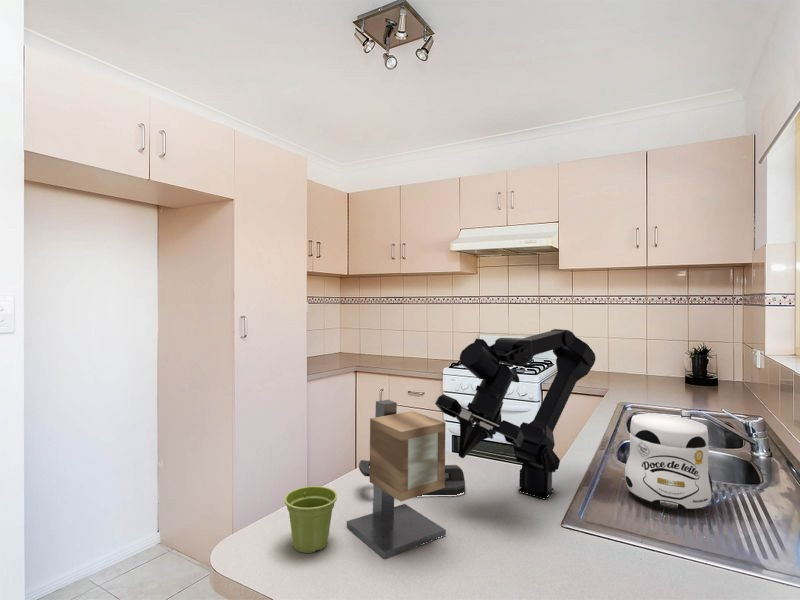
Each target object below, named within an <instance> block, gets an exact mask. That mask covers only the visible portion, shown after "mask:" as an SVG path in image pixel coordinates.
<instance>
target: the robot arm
mask: <svg viewBox="0 0 800 600" xmlns="http://www.w3.org/2000/svg"><path fill="white" fill-rule="evenodd" d="M551 351H552V353H553V355H555V356H556V359H555V363H556V369H557V371H556V374H555V376H554V378H553V380H552V382H551V384H550V387H549V388H548V390H547V392H546V394H545V396H544V397H543V401H542V402H541V405H540V406H539V408H538V410H537V413H536V414H535V417H534V418H533V420H532V421H530V422H529V423H527V422H522V423H520V425H516V424H514V423H512V422H509V421H508V420H505V419H502V414H501V413H502V408H503V405H504V398H505V396H506V394H507V392H508V390H509V389H510V386H511V384H512V382H514V383H520V377H519V375H518V371H517V369H513V368H510V367H509V366H508V365H510V366H515V367H523V366H525V365H527V364H528V363H530V362H531V361H533V358H534V357H535V356H537V355H540V354H543V353H546V352H551ZM596 359H597V358H596V353H595V352H594V351H593V349H592V348H591V347H590V345H588V343H587V342H585V341H583V340H582V339H580V338H579V337H577V336H576V335H575V333H573V332H572V331H570V330H569V329H562V328H561V329H560V328H559V329H558V328H553V329H551V330H548V331H545V332H543V333H537V334H534V335H530V336H526V337H523V338H522V337H499V338H497V339H496V340H495V341H494V343H493V344H491V345H489V344H488V343H487V342H486V341H485V340H484V339H483V338H482V339H481V338H475V340H474V341H473V342H472V343H470V344H469V345H467V346H466V347H464V349H463V350H461V352H460V354H459V362H460V364H461V365H462V366H463V367H464V368H465V369H467V370H468V371H469V372H470V373H471V374H472V375H473V376H475V377H476V378H477V379H479V380H481V381H480V384H479V385H478V384H477V386H476V387H475V391H476V392H475V394H474V397H473V398H472V401H470V402H468V403H467V405H466V407H467V408H465V407H464V406H462V405H461V404H460V403H459V401H458V400H457V399H456V398H454V397H451V396H449V395H445V394H443V393H442V394H441V395H439V396H438V397H437V399H436V401H435V402H434V404H435V406H436V407H437V409H439V411H441V413H443V414H445V415H448V416H449V417H452V418H453V419H454V418H456V420H458V422H459V448H458V457H459V458H461V459H464V458H465V457H466V456H467V455H468V454H469V453H471V451H472V450H473V449H474V448H475V447H476V446H477V445H478V444H480V443H481V442H482V441H484V440H486V439H491V440H493V439H494V435H496V434H497V433H498V434H500V435H502V436H503V437H504V440H505V442H507V443H509V444H511V445H512V446H513V447H512V448H513V452H514V455H515V459H516V460H515V461H516V462H517V463H519V464H521V469H520V470H519V482H518V483H519V484H518V485H519V487H520V488H519V489H518V492H519V491H521V492H524V493H528V494H531V495H535V496H538V497H541V498H540V499H542V498H547V496H548V495H549V494H550V493H551V492H552V491H553V490H554V491H555V488H554V487H552V486H553V473H556V471H557V470H559V468H560V462H561V460H560V458H559V457H558V455H557V454H556V452H555V451H554V448H555V445H556V443H555V437H554V430H555V428H556V426H557V424H558V422H559V419H560V418H561V415H562V414H563V411H564V409H565V407H566V405H567V403H568V400H569V399H570V396H571V394H572V392H573V391H574V388H575V386H576V384H577V382H578V381H579V380H581V379H582V378H584V377H586V376H587V375H589V372H590V371H591V370H592V368H593V367H594V365H595V363H596ZM554 491H553V492H554ZM553 492H552V493H553ZM524 493H523V494H524ZM552 493H551V494H552ZM531 495H530V496H531ZM535 496H534V497H535ZM538 497H537V498H538ZM547 499H548V498H547Z"/></svg>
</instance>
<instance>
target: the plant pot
mask: <svg viewBox="0 0 800 600" xmlns="http://www.w3.org/2000/svg"><path fill="white" fill-rule="evenodd" d="M337 500H338V493H337V492H336V491H335V490H334V489H333V488H329V487H326V486H318V485H317V486H316V485H314V486H313V485H312V486H311V485H310V486H303V487H298V488H296V489H293V490H291V491H289V492H288V493H287V494H285V496H284V499H283V501H284V504H285V506H286V508H287V511H288V514H289V522H290V523H289V524H290V531H291V540H292V547H294V548H295V550H296V551H297V552H300V553H307V554H308V553H309V554H311V553H314V552H316V551H321V550H323V549H324V548H326V546H327V545H328V541H329V535H330V528H331V523H332V521H331V520H332V515H333V509H334V508H335V507H334V506H335V503H336V502H337Z"/></svg>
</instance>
